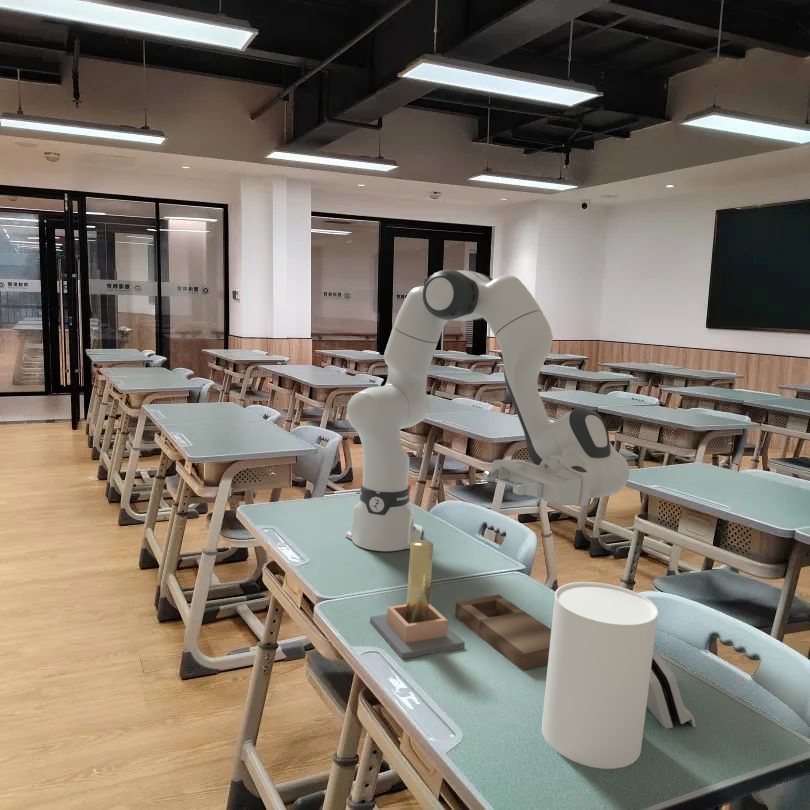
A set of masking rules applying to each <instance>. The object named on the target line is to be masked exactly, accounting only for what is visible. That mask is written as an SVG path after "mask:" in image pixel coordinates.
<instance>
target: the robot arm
mask: <svg viewBox="0 0 810 810" xmlns="http://www.w3.org/2000/svg"><path fill="white" fill-rule="evenodd" d="M480 320H485V321H486V323H487V324H488V325H489V327H490V329H491V332H492V334H493V335H494V338H495V339H496V342H497V344H498V346H499V350H500V352H501V355H502V360H503V367H504V368H503V376H504V381H505V385H506V388H507V390H508V393H509V397H510V398H511V402H512V403H513V406H514V410H515V412H516V414H517V417H518V420H519V423H520V425H521V428H522V430H523V434H524V437H525V441H526V449H527V452H528V456H529V458H530V461H531V462H530V461H527V460H523V459H495V460H492V462H491V469H489V470H488V469H487V470H484V471H483V473H482V479H483V480H484V481H486V482H495V480H497V481H499V482H502V483H504V484H506V485H509V486H510V487H512V493H513V494H515V495H518V496H530V497H536V498H538V499H541V500H543V501H545V502H547V503H550V504H551V505H557V506H577V507H579V508H580V507H587V506H588V503H589V500H590V499H596V498H603V497H607V496H608V497H609V496H612V495H615V494H617V493H618V492H620V491H622V490H623V489H624V487H625V486H626V485H627V483H628V481H629V477H630V466H629V464H628V461H627V460H626V458H625V456H623V455H622V454H621V453H619V452H618V451H617V450H616V449H615V448H614V446H613V444H612V442H611V441H610V435H609V431H608V428H607V425H606V423H605V421H604V419H603V417H602V416H600V414H598V413H597V412H595V411H594V410H592V409H591V408H587V407H583V406H582V407H581V406H580V407H575V408H574V409H572V410H570V411H569V412H567V413H565V414H563V415H562V416H560V417H558V418H557V419H556V420H555V421H553V422H551V421H550V419H549V416H548V413H547V411H546V408H545V406H544V403H543V401H542V398H541V395H540V393H539V390H538V380H539V376H540V373H541V370H542V368H543V366H544V363H545V362H546V360H547V358H548V356H549V354H550V353H551V349H552V346H553V342H554V341H553V340H554V339H553V332H552V328H551V326H550V324H549V321H548V319H547V318H546V316H545V315H544V312H543V310H542V309H541V307H540V306H539V304H538V303H537V301H536V299H535V297H534V296H533V295H532V294H531V292H530V291H529V289H528V288H527V287H526V286H525V285H524V283H523V282H522V281H521V280H520V279H519V278H518V277H516V276H514V275H510V274H509V275H507V274H506V275H505V274H504V275H500V276H497V277H495V278H492V277H490V276H489V275H486V273H485V274H484V273H481V272H480V273H479V272H476V271H472V270H469V269H462V270H460V269H459V270H458V269H457V270H456V269H443V270H439V271H437V272H434V273H433V274H432V275H430V276H429V277H428V279H427V280H426V281H425V283H424V285H421V286H416V287H414V288H412V289H411V290H409V292H408V294H407V295H406V297H405V298H404V300H403V303H402V304H401V306H400V308H399V310H398V313H397V316H396V317H395V320H394V323H393V325H392V326H393V327H392V329H391V331H390V336H389V338H388V341H387V344H386V346H385V347H386V348H385V350H384V354H383V360H384V362H385V364H386V365H387V379H386V382H385V384H384V385H382V386H371V387H367V388H365V389H362V390H360V391H358V392H357V393H354V394H353V395H352V396H351V397H350V398H349V400H348V402H347V407H346V417H347V421H348V422H349V424H350V425H351V427H352V428H353V430H355V431H356V432H357V434H358V436H359V439H360V443H361V447H362V455H363V467H362V468H363V469H362V472H363V473H362V484H360V489H359V500H360V501H359V502H358V503H356V505H354V507H353V514H352V515H353V516H352V522H351V523H352V524H351V529H349V530H347V531H346V533H345V537H346V538H348V539H349V540H352V542H353V544H354V545H356V546H358V547H359V548H362V549H366V550H370V551H376V552H395V551H397V552H398V551H402V550H407V549H408V550H410V546H411V541H413V540H422V534H423V526H422V525H421V524H420V525H419V524H417V523H415V521H416V520H415V519H416V510H415V508H414V506H413V505H412V504H411V503H410V497H411V493H410V492H411V487H412V484H411V483H409V471H410V456H409V454H408V452H407V451H406V450H405V449H404V448H403V445H402V441H401V436H400V432H401V430H402V429H403V430H404V429H407V428H413V427H414V426H416V425H418V424H419V423H421V422H422V421H424V420H425V419H426V418H427V416H428V415H429V412H430V410H431V409H430V408H431V402H430V397H429V395H428V393H427V382H428V375H429V370H430V367H431V363H432V360H433V357H434V354H435V352H436V348H437V346H438V343H439V341H440V338H441V334H442V332H443V330H444V327H445V326H446V324H447V323H448V322H449V321H455V322H466V321H480Z"/></svg>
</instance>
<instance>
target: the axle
mask: <svg viewBox="0 0 810 810" xmlns="http://www.w3.org/2000/svg"><path fill="white" fill-rule="evenodd" d="M409 550H410V551H409V564H408V577H407V578H408V579H407V580H408V581H407V592H406V604H407V605H406V620H405V621H406V622H407V623H408V624H411V623H417V622H424V621H428V612H429V604H430V600H431V599H430V596H431V585H432V571H433V569H432V568H433V554H434V542H432V541H430V540H428V539H420V540H413V541H411V546H410V549H409Z"/></svg>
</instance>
